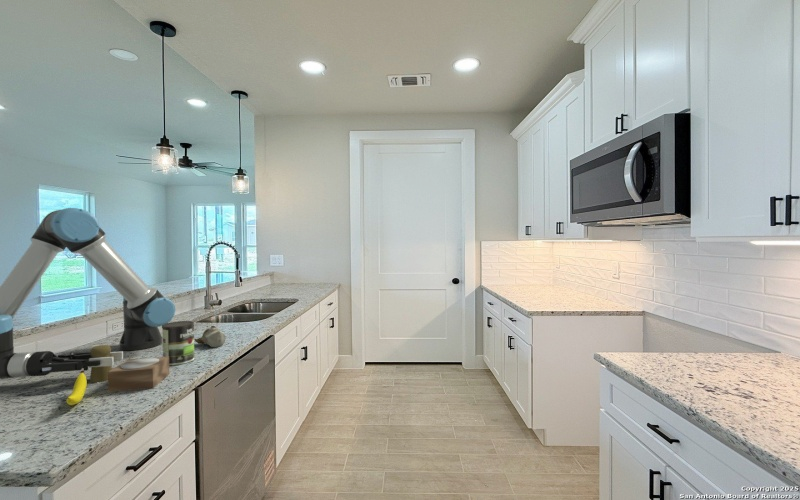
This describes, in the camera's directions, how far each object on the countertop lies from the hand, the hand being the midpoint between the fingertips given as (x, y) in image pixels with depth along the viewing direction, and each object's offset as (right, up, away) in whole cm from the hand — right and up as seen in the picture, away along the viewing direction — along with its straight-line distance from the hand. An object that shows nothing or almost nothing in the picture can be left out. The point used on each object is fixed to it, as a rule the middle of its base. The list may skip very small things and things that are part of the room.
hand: (117, 358), depth 118 cm
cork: (-5, -7, -1) cm, 8 cm away
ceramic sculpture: (+12, -6, +37) cm, 40 cm away
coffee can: (+10, -6, +17) cm, 20 cm away
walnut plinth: (+10, -7, -4) cm, 13 cm away
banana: (+3, -7, -18) cm, 20 cm away
